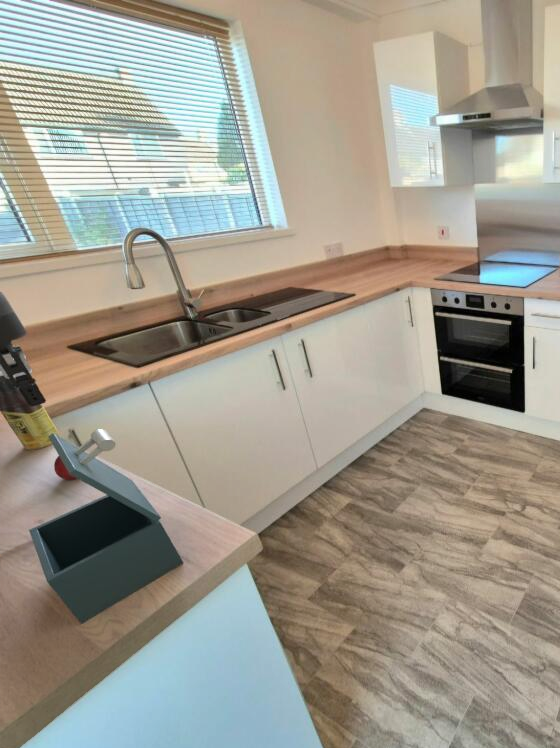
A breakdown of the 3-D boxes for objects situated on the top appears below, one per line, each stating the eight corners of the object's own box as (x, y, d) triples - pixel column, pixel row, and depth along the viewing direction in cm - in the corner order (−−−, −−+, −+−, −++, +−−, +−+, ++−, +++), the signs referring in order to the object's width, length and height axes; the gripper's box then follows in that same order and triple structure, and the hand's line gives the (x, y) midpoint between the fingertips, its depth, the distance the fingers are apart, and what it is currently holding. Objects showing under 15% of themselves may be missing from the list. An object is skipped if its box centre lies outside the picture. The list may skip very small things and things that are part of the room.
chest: (81, 624, 60) (46, 581, 56) (59, 570, 69) (28, 529, 65) (183, 563, 68) (160, 522, 64) (153, 521, 77) (131, 483, 73)
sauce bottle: (23, 453, 100) (-30, 377, 91) (56, 438, 105) (9, 365, 96) (38, 458, 98) (-15, 381, 89) (71, 443, 103) (24, 368, 94)
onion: (66, 492, 86) (44, 460, 83) (64, 480, 90) (43, 449, 86) (103, 477, 90) (84, 446, 86) (99, 467, 94) (81, 436, 90)
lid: (69, 473, 55) (109, 443, 57) (47, 436, 64) (83, 411, 66) (156, 522, 64) (188, 494, 67) (127, 483, 73) (156, 460, 75)
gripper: (-54, 314, 74) (2, 396, 81) (-52, 328, 66) (10, 418, 73) (8, 303, 79) (55, 381, 86) (17, 314, 71) (69, 399, 78)
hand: (35, 398), depth 80 cm, fingers open, 8 cm apart
